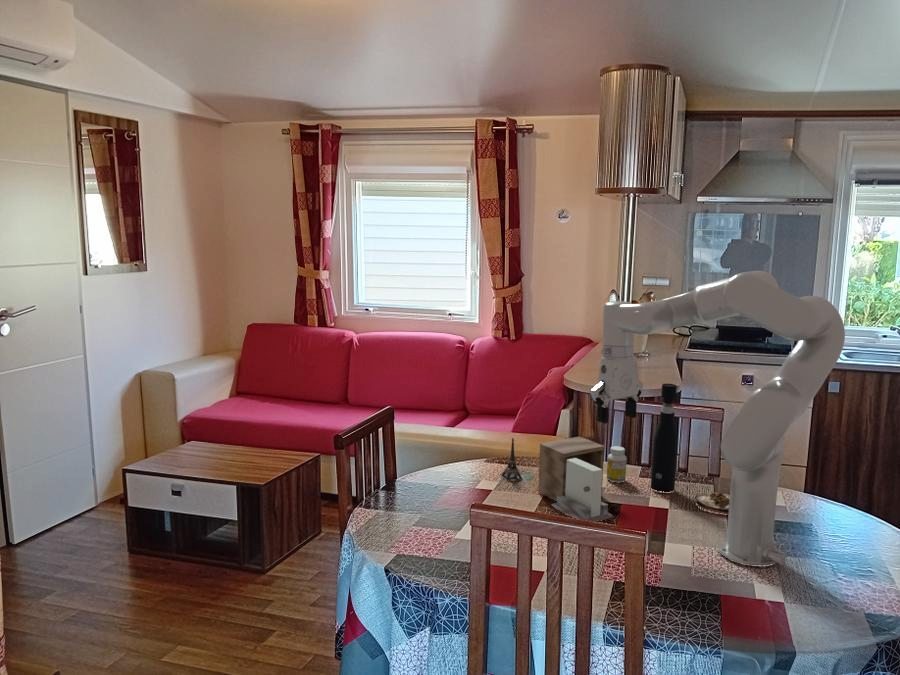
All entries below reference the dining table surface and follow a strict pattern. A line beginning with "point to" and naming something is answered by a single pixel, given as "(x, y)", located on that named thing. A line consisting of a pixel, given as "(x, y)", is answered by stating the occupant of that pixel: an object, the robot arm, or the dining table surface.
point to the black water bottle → (665, 444)
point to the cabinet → (555, 473)
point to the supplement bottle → (616, 464)
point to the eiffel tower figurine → (515, 471)
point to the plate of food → (714, 502)
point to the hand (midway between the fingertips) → (616, 419)
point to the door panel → (584, 484)
